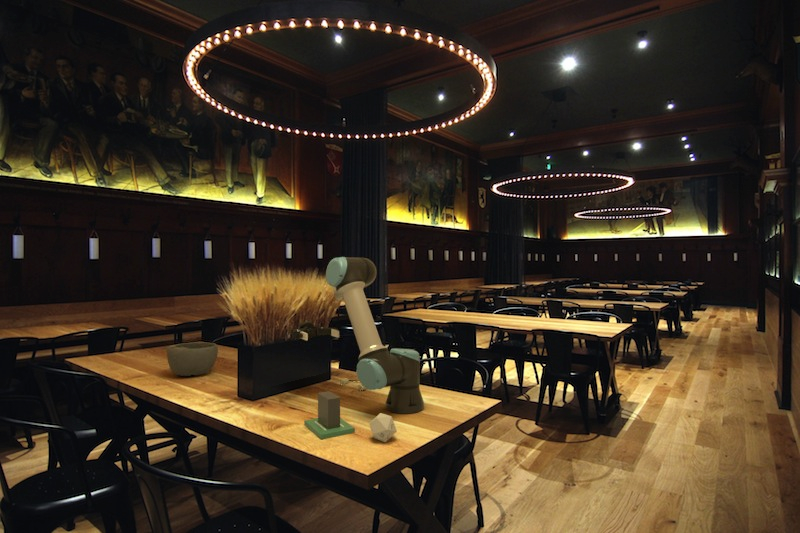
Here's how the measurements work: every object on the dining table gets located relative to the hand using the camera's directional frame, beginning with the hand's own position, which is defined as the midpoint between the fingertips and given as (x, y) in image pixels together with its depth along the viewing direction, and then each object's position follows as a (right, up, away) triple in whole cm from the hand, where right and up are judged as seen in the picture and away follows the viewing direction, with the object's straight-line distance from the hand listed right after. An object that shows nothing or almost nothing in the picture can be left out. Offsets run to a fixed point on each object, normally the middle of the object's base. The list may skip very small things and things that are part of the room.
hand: (322, 335), depth 183 cm
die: (+25, -28, -35) cm, 52 cm away
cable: (+12, -29, +30) cm, 43 cm away
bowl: (-76, -28, +51) cm, 95 cm away
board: (+6, -28, -26) cm, 39 cm away
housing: (+6, -27, -26) cm, 38 cm away
